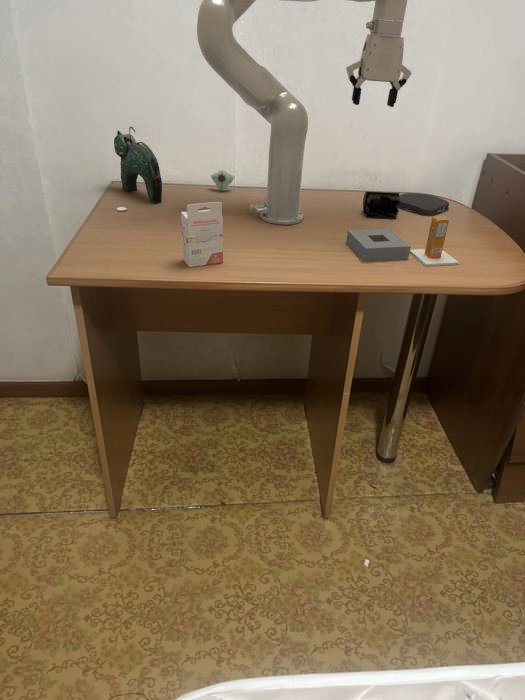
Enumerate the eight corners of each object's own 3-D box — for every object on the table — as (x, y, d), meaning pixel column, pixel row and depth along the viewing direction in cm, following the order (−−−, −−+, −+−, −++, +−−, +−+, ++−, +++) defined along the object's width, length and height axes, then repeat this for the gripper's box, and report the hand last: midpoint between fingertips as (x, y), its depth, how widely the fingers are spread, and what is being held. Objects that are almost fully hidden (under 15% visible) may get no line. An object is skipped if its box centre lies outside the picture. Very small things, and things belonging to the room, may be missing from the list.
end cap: (393, 212, 161) (397, 190, 158) (398, 219, 155) (402, 197, 152) (361, 210, 161) (364, 188, 157) (365, 218, 155) (368, 195, 151)
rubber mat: (425, 266, 127) (426, 264, 126) (408, 252, 134) (409, 249, 134) (458, 264, 129) (458, 262, 128) (439, 250, 136) (440, 248, 136)
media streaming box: (412, 198, 175) (414, 189, 174) (452, 209, 167) (454, 200, 165) (388, 206, 167) (390, 197, 165) (428, 219, 158) (430, 209, 157)
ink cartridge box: (216, 255, 126) (216, 195, 118) (223, 263, 123) (223, 201, 114) (182, 259, 123) (179, 198, 115) (188, 267, 119) (186, 204, 111)
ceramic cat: (116, 189, 166) (109, 122, 155) (134, 186, 170) (128, 120, 159) (150, 205, 155) (145, 134, 144) (168, 202, 158) (165, 132, 147)
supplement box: (422, 253, 132) (431, 215, 127) (435, 253, 133) (444, 215, 127) (428, 258, 129) (437, 219, 124) (441, 258, 130) (451, 219, 125)
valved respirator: (235, 190, 172) (235, 169, 168) (233, 194, 168) (234, 172, 165) (211, 188, 172) (211, 167, 168) (209, 192, 169) (209, 171, 165)
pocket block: (363, 261, 127) (365, 248, 125) (345, 243, 137) (347, 230, 135) (407, 259, 130) (410, 246, 128) (387, 241, 140) (390, 229, 138)
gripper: (358, 27, 123) (346, 105, 132) (425, 32, 126) (409, 109, 135) (348, 25, 129) (337, 101, 138) (412, 31, 132) (398, 104, 141)
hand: (373, 105), depth 137 cm, fingers open, 9 cm apart
